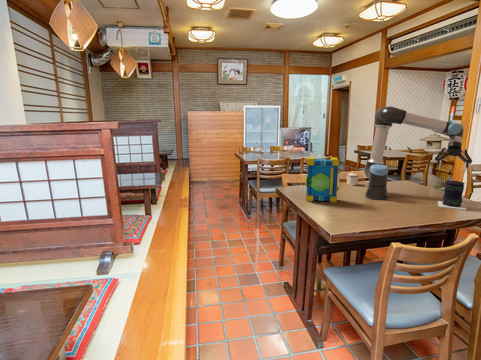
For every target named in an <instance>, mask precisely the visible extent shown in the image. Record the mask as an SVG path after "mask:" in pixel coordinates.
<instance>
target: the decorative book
mask: <svg viewBox="0 0 481 360" xmlns="http://www.w3.org/2000/svg"><path fill="white" fill-rule="evenodd" d="M306 161H307V162H306V164H307V165H306V166H307V167H306V168H307V173H306V175H305V177H304V186H305V187H306V192H305V198H306V202H307V201H313V202H314V201H319V202H325V201H329V203H330V202H337V203H338V201H337V199H338V196H337V192H339V190H340V187H339V186H338V176H339V174H341V170H339V166H340V159H338V157H330V159H328V158H327V159H326V158H318V159H316V158H315V157H309V156H308V157H307V160H306Z"/></svg>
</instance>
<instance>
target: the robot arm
mask: <svg viewBox="0 0 481 360" xmlns="http://www.w3.org/2000/svg"><path fill="white" fill-rule="evenodd" d="M374 120H375V121H374V126H375V130H374V131H375V132H374V136H373V137H374V138H373V141H372V146H371V147H372V148H371V152H370V157H369V159H368V160H367V161H366V165H365V166H364V168H363V173H364V175H365V177H367V179H368V186H367V189H366V191H365V193H364V194H365V196H364V197H365V198H367V199H370V200H377V201H387V200H388V199H389V193H388V189H387V185H388V177H389V175H388V174H389V167H388V166H387V165H385V162H384V161H383V160H384V159H383V158H384V153H385V151H386V150H385V149H386V144H387V141H388V140H387V139H388V134H389V132H390V131H389V130H390V129H391V128H392V127H393V124H397V125H402V124H404V125H408V126H412V127H416V128H421V129H424V130H425V129H426V130H430V131H431V132H434V133H436V134H440V135H443V136H446V137H448V144H447V149H445V148H441V150H440V152H439V154H437V156H435V158H434V161H435V162H437V163H436V164H437V165H436V166H438V168H437V169H438V171H440V170H441V166H442V165H441V164H442V160H444V159H446V158H447V157H458V158H459V159H460V160H461V161H463V163H464V164H463V171H462V172H463V173H464V174H465V173H466V170H467V169H468V168H469V164H470V165H471V164H472V163H473V160H472V158H471V156H470V155H469V153H468V150H467V149H464V150H462V147H463V146H462V145H463V137H464V131H465V130H464V125H463V124H461V123H457V122H450V121H446V120H441V119H437V118H433V117H428V116H425V115H420V114H415V113H410V112H408V111H407V110H405V109H401V108H397V107H395V106H390V105H389V106H382V107H380V108H378V110H376V112H375V113H374ZM444 153H445V154H444ZM463 154H464V155H463Z"/></svg>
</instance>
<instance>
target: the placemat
mask: <svg viewBox="0 0 481 360" xmlns="http://www.w3.org/2000/svg"><path fill="white" fill-rule="evenodd" d="M442 203H443V200H442V201H441V200H438V201H437V206H438V208H440V209H446V210H447V209H448V210H455V211H462V212H463V211H464V212H466V211H467V208H466V204H465V203H463V202H462V203H461V207H450V206H446V205H443V204H442Z"/></svg>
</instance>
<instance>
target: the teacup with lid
mask: <svg viewBox="0 0 481 360" xmlns="http://www.w3.org/2000/svg"><path fill="white" fill-rule="evenodd" d="M345 179H346V181H347V182H346V185H347V184H348V185H347V186H350V185H357V186H358V184H359V183H358V182H359V174H357V173H356V172H355V171H351V172H350V173H348V174H347V175H346V176H345Z"/></svg>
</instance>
